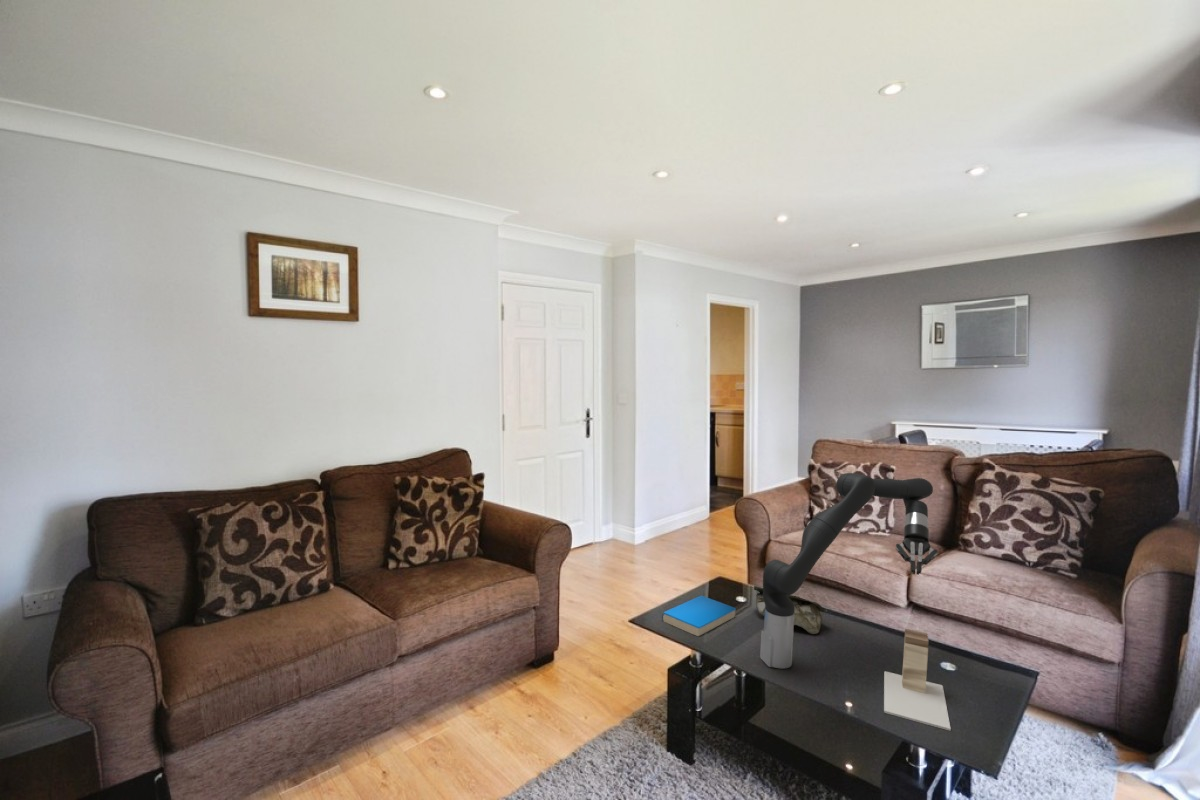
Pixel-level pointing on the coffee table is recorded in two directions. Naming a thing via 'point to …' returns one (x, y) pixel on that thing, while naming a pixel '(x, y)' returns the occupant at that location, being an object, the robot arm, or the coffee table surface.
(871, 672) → the coffee table surface
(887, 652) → the coffee table surface
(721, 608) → the book
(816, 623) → the weathered driftwood
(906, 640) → the maple block
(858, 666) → the coffee table surface
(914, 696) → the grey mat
